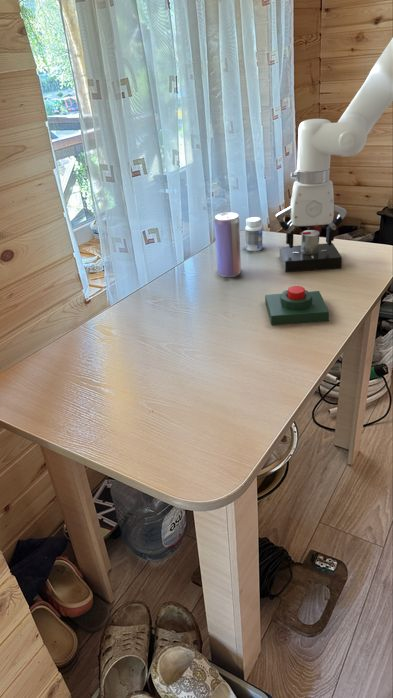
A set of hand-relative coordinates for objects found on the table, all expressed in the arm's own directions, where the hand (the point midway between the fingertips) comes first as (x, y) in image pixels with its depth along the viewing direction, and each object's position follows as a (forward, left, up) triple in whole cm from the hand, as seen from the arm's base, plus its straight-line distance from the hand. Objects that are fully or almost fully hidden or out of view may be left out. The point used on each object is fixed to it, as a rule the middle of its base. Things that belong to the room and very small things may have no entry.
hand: (309, 244), depth 131 cm
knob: (0, 0, -2) cm, 2 cm away
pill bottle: (+13, -13, -5) cm, 19 cm away
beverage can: (+21, +3, -5) cm, 22 cm away
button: (+8, +26, -1) cm, 27 cm away
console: (0, 0, -5) cm, 5 cm away
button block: (+8, +26, -5) cm, 28 cm away
